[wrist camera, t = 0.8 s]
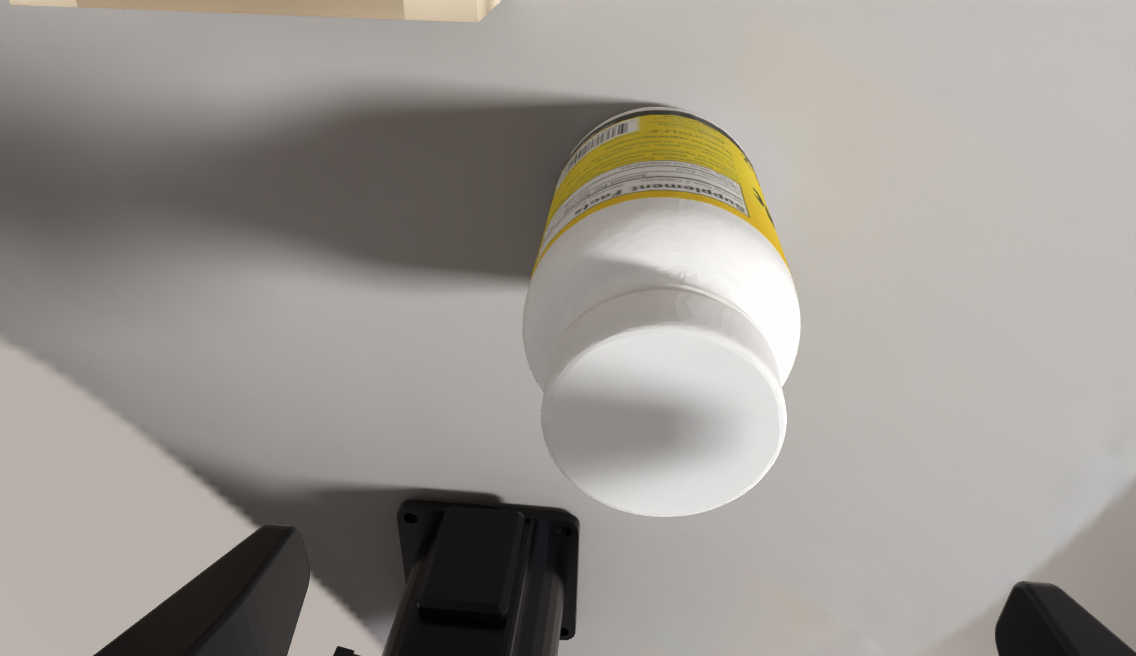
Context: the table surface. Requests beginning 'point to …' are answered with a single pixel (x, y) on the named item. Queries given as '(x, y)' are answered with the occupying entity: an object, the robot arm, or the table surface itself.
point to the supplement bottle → (661, 317)
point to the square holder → (303, 7)
